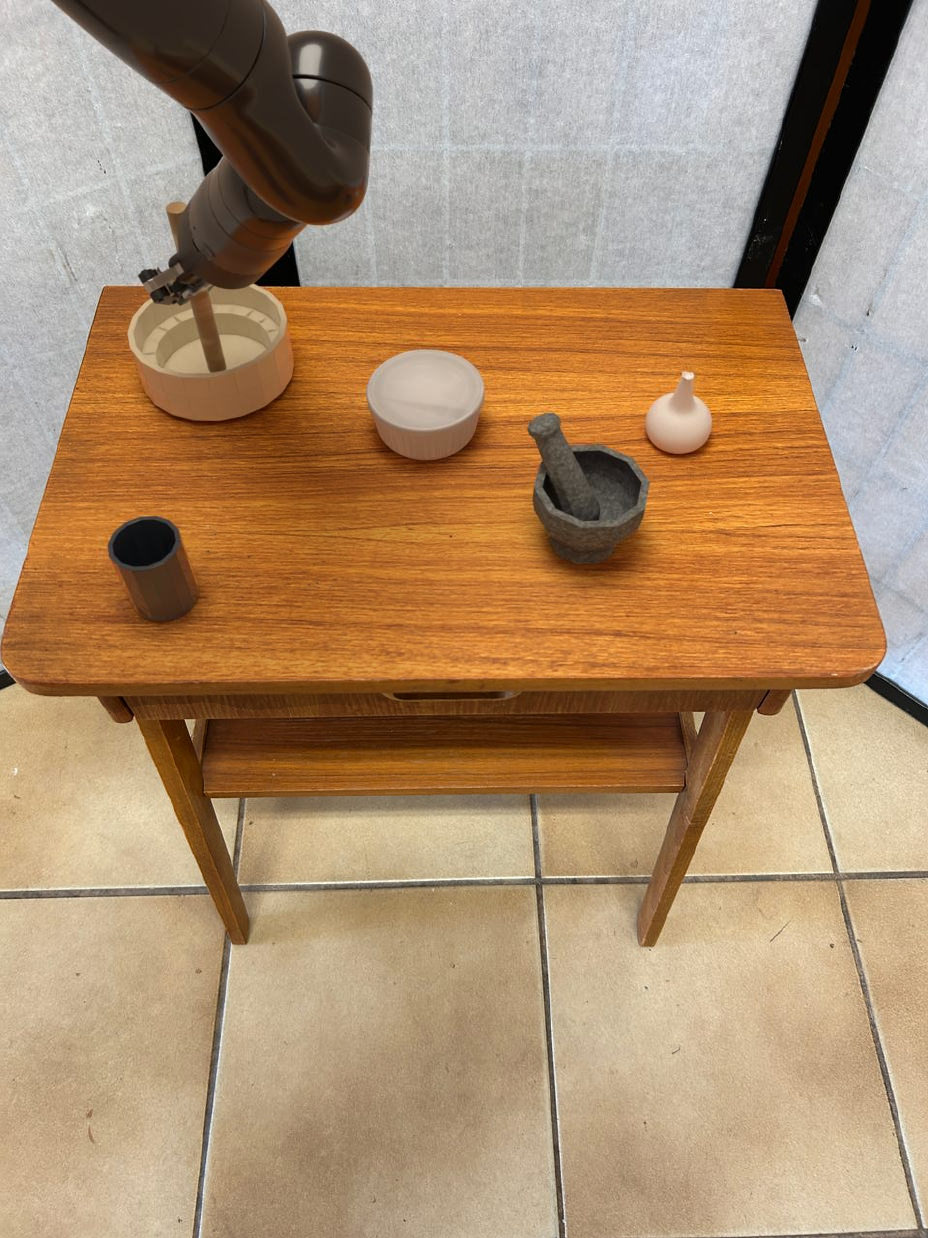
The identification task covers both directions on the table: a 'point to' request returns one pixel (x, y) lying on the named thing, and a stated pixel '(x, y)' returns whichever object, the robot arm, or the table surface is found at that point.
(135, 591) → the utensil pot
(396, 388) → the ramekin
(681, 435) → the garlic bulb
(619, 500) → the mortar and pestle
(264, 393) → the bowl
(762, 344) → the table surface
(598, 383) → the table surface
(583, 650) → the table surface
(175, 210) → the stick
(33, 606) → the table surface
